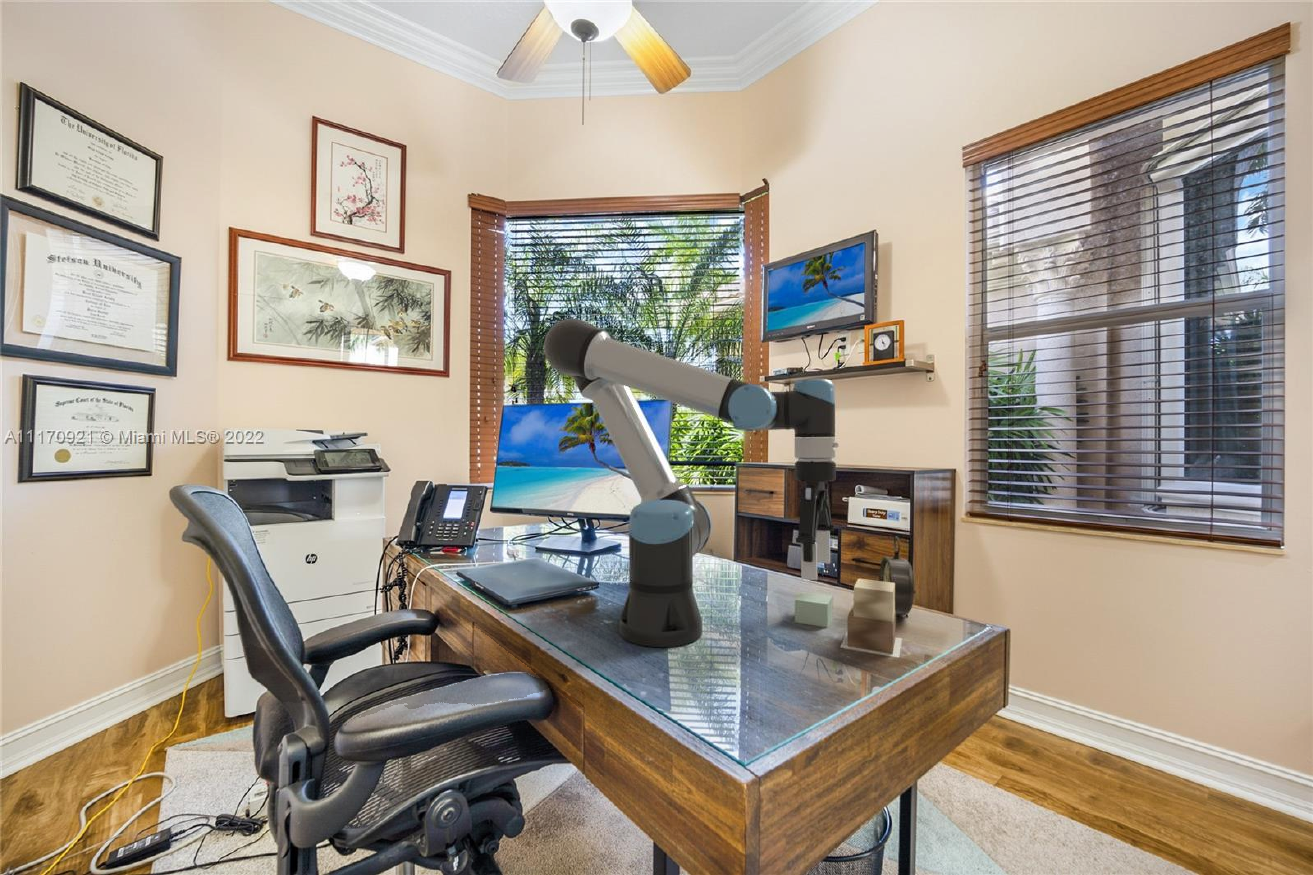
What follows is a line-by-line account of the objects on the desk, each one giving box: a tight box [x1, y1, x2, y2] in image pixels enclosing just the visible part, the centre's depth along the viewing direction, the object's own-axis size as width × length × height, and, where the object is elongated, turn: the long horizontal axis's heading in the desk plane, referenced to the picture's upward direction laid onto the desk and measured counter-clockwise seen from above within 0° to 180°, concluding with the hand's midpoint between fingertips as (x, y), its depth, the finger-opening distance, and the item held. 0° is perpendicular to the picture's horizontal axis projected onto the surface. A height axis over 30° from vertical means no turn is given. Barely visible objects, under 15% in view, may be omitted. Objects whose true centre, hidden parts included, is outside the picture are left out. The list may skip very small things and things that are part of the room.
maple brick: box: [853, 578, 895, 623], centre depth 90 cm, size 6×6×5 cm
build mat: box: [840, 632, 903, 659], centre depth 91 cm, size 9×9×1 cm
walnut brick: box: [846, 604, 897, 654], centre depth 91 cm, size 7×7×5 cm
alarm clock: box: [878, 536, 916, 624], centre depth 104 cm, size 11×5×16 cm, turn 167°
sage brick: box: [794, 591, 834, 628], centre depth 102 cm, size 6×6×5 cm
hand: (816, 570), depth 102 cm, fingers open, 13 cm apart
